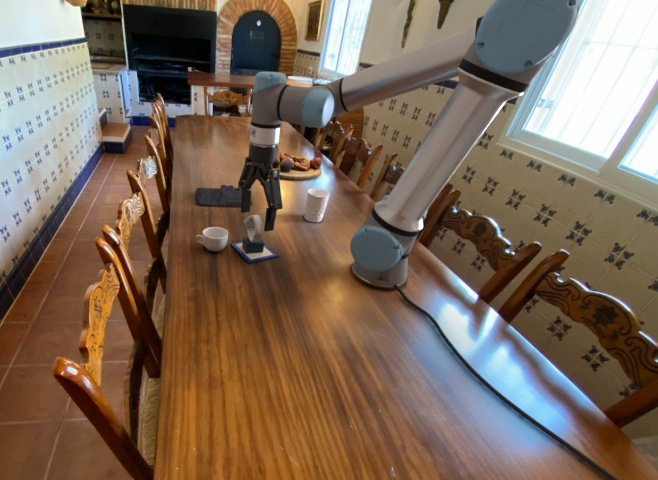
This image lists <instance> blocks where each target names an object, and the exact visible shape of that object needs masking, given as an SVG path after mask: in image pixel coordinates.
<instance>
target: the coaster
mask: <svg viewBox="0 0 658 480" xmlns="http://www.w3.org/2000/svg"><path fill="white" fill-rule="evenodd" d="M242 243H243V240H242V241H237V242H231V243H230V246H231V247H232V248H233V250H235V251H236V252H238V254H239V255H240V256H241V257H242V258H243V259H244V261H246V262H247V263H248V264H253V263H258V262H262V261H266V260H270V259H271V260H272V259H276V258H278V254H277V253H275V252H274V251H273V250H272V249H271V248H270V247H269V246H267V245H266V244H265V243H264V249H263V252H262V253H249V254H246V253H245V251H244V249H243V247H242Z"/></svg>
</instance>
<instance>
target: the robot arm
mask: <svg viewBox="0 0 658 480" xmlns="http://www.w3.org/2000/svg"><path fill="white" fill-rule="evenodd" d="M579 12H580V0H494V2H492V3H491V5H490V6H489V7H488V8H487V10H486V11H485V13H484V15H482V16H479V17H477V18H476V19H474V21H473V22H472V23H471V25H470V26H469V27H468V28H466V29H463V30H461V31H458V32H456V33H453V34H451V35H448V36H445V37H443V38H440V39H438V40H435V41H432V42H430V43H428V44H425V45H422V46H420V47H418V48H415V49H413V50H410V51H407V52H405V53H402V54H400V55H397V56H395V57H392V58H390V59H389V58H388V59H387V60H384V61H381V62H380V63H377V64H374V65H372V66H370V67H367V68H364V69H362V70H359V71H357V72H354V73H351V74H349V75H346V76H344V77H341V78H338V79H335V80H333V81H331V82H328V83H326V84H320V85H314V86H298V85H291V84H288V83H287V75H286V74H285V73H283V72H278V71H259V72H257V73H256V74H255V76H254V81H253V89H252V93H251V96H252V102H251V103H252V104H251V105H252V107H251V120H250V130H249V141H250V143H249V144H248V156H246V157H245V159H244V165H243V168H242V171H241V174H240V176H239V178H238V179H239V180H238V184H237V186H241V190H242V203H241V207H240V213H241V214H244V213H250V212H251V205H250V202H251V201H252V186H253V185H254V184H255V183H256V182H257V181H258V183H260V185H261V186H262V188H263V192H264V197H265V200H266V203H267V207H266V209H265V218H264V219H265V220H264V227H263V231H264V232H265V233H266V232H270V231H274V228H275V223H276V219H277V211H278V210H282V209H283V207H284V206H283V199H282V198H283V197H282V189H281V182H280V181H281V180H280V178H279V175H280V171H279V170H273V168H272V164H273V162H274V161H276V159H277V152H278V149H279V146H278V144H279V143H280V137H281V125H282V122H285V123H289V124H295V125H299V126H303V127H307V128H316V129H322V128H324V127H326V126H327V124H328V123H329V122H330V120H331V119H332V118H334V117H335V118H336V117H338V116H340V115H342V114H345V113H348V112H351V111H354V110H357V109H361V108H363V107H366V106H369V105H372V104H376V103H380V102H382V101H385V100H389V99H391V98H395V97H397V96H401V95H404V94H407V93H411V92H413V91H416V90H419V89H423V88H426V87H429V86H432V85H435V84H438V83H441V82H445V81H447V80H451V79H454V78H457V77H458V83H457V84H456V86H455V88H454V89H453V91H452V93H451V94H450V96H449V98H448V99H447V101H446V102H445V104H444V105H443V107H442V109H441V111H440V112H439V114H438V115H437V117H436V119H435V120H434V121H433V123H432V125H431V126H430V128H429V130H428V131H427V133H426V134H425V136H424V137H423V139H422V141H421V143H420V144H419V146H418V147H417V149H416V151H415V152H414V153H413V156H412V157H411V159H410V160H409V162H408V163H407V165H406V166H405V168H404V170H403V171H402V173H401V175H400V176H399V178H398V180H397V182H396V183H395V185H394V186H393V187H392V190H391V191H390V193H389V194H386V195H384V196H382V198H381V200H379V201H377V202H376V203H375V204H374V206H373V207H372V209H371V211H370V212H369V214H368V215H367V217H366V219H365V220H364V222H363V224H362V226H361V227H360V228H358V229H357V230H356V231H355V232H354V233H353V235H352V238H351V239H350V244H349V249H350V253H351V256H352V258H353V260H354V261H353V263H352V267H351V273H352V275H353V276H354V278H355V279H357V280H358V281H360V282H361V283H363V284H364V285H367V286H369V287H372V288H375V289H378V290H379V289H380V290H389V291H390V290H396V291H397V292H398V293H399V295H401V297H402V298H403V299H404V300H405V302H406V303H408V304H409V305H410V306H412V307H413V308H414V309H416V310H417V311H419V312H420V313H422V314H423V315H424V316H426V317H427V318H428V319H429V320H430V321H431V322H432V324H433V325H434V327H435V328H436V331H437V332H438V333H439V335H440V336H441V338H442V339H443V341H444V342H445V343H446V345H447V346H448V348H450V351H452V353H453V354H454V355H455V356H456V357H457V359H458V360H459V361H460V362H461V363H462V364H463V366H465V368H466V369H468V371H469V372H470V373H471V374H472V375H473V376H474V377H475V378H476V379H477V380H478V381H479V382H480V383H481V384H483V386H485V387H486V388H487V389H488V390H489V391H490V392H492V394H494V395H495V396H496V397H497V398H499V399H500V400H501V401H502V402H504V403H505V404H506V405H508V406H509V407H510V408H511V409H513V410H514V411H515V412H517V414H519V415H521V417H522V418H524V419H526V420H527V421H528V422H529V423H531V424H532V425H534V426H535V427H537V428H538V429H539V430H541V431H542V432H544V433H545V434H547V435H548V436H550V437H551V439H554V440H555V441H557V442H558V443H559V444H560V445H562V446H563V447H564V448H566V449H567V450H569V451H570V452H571V453H573V454H574V455H576V456H577V457H579V458H580V459H582V460H583V461H584V462H585V463H587V464H588V465H589V466H591V467H592V468H594V469H595V470H596V471H598V472H599V473H601V474H602V475H603V476H605V477H606V478H607V479H609V480H620V479H619V478H618V477H616V476H615V475H613V474H612V473H610V472H609V471H608V470H606V469H605V468H604V467H602V466H601V465H599V464H598V463H596V462H595V461H594V460H592V459H591V457H588V456H587V455H586V454H584V453H583V452H581V451H580V450H579V449H577V448H576V447H574V446H573V445H572V444H570V443H569V442H567V441H566V440H565V439H563V438H562V437H561V436H559V435H557V434H556V433H555V432H554V431H552V430H550V429H548V427H546V426H545V425H543V424H542V423H540V422H539V421H538V420H536V419H535V418H533V417H532V416H531V415H529V414H528V413H526V412H525V411H524V410H523V409H521V408H520V407H518V406H517V404H515V403H513V402H512V401H511V400H510V399H508V398H507V397H506V396H504V395H503V394H502V393H501V392H499V391H498V390H497V389H496V388H494V387H493V386H492V384H490V383H489V382H488V381H487V380H486V379H485V378H484V377H482V375H480V374H479V373H478V372H477V371H476V370H475V369H474V368H473V367H472V365H470V364H469V363H468V361H467V360H466V359H465V358H464V357H463V355H461V354H460V352H459V351H458V350H457V348H455V346H454V345H453V343H452V342H451V341H450V339H449V338H448V337H447V336H446V334H445V333H444V331H443V330H442V328H441V326H440V324H439V323H438V322H437V320H436V319H435V318H434V317H433V316H432V315H431V314H430V313H429V312H428V311H426V310H425V309H423V308H422V307H420V306H419V305H417V304H416V303H414V302H413V301H411V300H410V299H409V298H408V297H407V295H406V294H405V293H404V292H403V290H402V289H401V288H402V287H403V286H404V285H405V283H406V281H407V278H408V262H409V261H408V260H409V256H410V254H411V252H412V249H413V246H414V244H415V242H416V240H417V237H418V235H419V234H420V232H421V231H422V229H423V228H424V221H425V219H426V218H427V214H428V211H429V208H430V207H431V206H432V204H433V202H435V200H436V198H437V197H438V196H439V194H440V193H441V192H442V190H443V189H444V188H445V186H446V185H447V183H448V182H449V181H450V179H451V178H452V176H454V174H455V173H456V172H457V170H458V168H459V167H460V166H461V164H462V163H463V162H464V161H465V159H466V157H467V156H468V154H469V153H470V152H471V150H472V149H473V148H474V146H475V145H476V144H477V142H478V141H479V140H480V139H481V137H482V136H483V134H484V133H485V131H486V130H487V129H488V127H489V126H490V124H491V123H492V122H493V121H494V119H495V118H496V116H497V115H498V114H499V112H500V111H501V109H502V108H503V107H504V105H505V104H506V103H507V102H508V101H510V100H513V99H516V98H518V97H520V96H523V95H524V94H525V92H526V91H527V89H528V88H529V87H530V86H531V85H532V83H533V82H534V81H535V79H536V78H537V76H538V75H539V74H540V72H541V71H542V70H543V68H544V67H545V66H546V64H547V63H548V62H549V60H551V58H552V56H553V55H554V54H555V53H556V52H557V51H558V50H559V49H561V47H562V46H563V44H564V43H565V42H566V41H567V39H568V38H569V36H570V34H571V33H572V31H573V29H574V27H575V25H576V22H577V19H578V16H579ZM251 203H252V202H251Z"/></svg>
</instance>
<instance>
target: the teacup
mask: <svg viewBox="0 0 658 480" xmlns="http://www.w3.org/2000/svg"><path fill="white" fill-rule="evenodd" d="M198 238H200V239H201V240H202V241H200V240H198ZM228 238H229V231H228V230H227V229H226V228H223V227H219V226H209V227H206V228H204V229H203V230H202V234H197V235H196V236H195V242H196V243H198V244H200V245H203V246H204V247H205V248H206V249H207V250H208V251H210V252H220V251H223V250H224V249H225V248H226V247H227V244H228Z"/></svg>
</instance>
